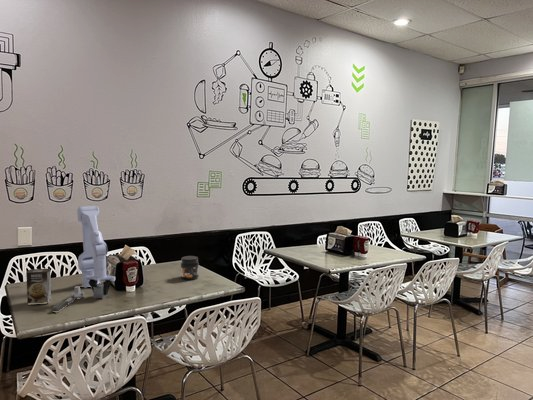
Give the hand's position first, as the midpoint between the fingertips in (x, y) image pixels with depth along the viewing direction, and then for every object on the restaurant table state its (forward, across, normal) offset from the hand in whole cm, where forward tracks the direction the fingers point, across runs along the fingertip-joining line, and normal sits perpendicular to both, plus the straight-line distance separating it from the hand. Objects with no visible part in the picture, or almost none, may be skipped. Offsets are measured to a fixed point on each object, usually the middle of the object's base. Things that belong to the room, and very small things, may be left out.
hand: (100, 294), depth 206 cm
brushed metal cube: (+1, 0, 0) cm, 1 cm away
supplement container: (+2, +36, +37) cm, 52 cm away
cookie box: (+2, -25, -11) cm, 27 cm away
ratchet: (+1, -11, -10) cm, 15 cm away
